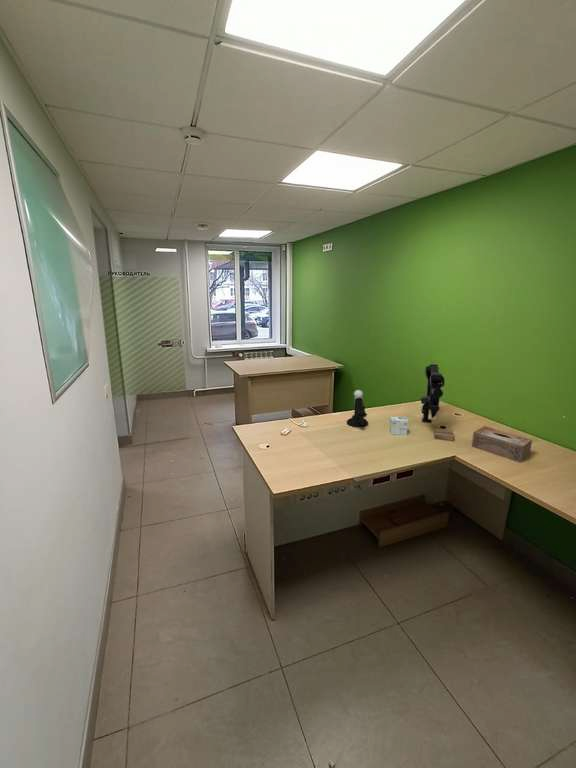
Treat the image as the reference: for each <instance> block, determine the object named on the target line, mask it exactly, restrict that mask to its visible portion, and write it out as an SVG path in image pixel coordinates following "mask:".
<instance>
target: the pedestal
mask: <svg viewBox="0 0 576 768" xmlns="http://www.w3.org/2000/svg"><path fill="white" fill-rule="evenodd" d="M433 429H434V431H433V436H434V437H433V438H434V439H433V440H441V441H447V442H454V439H455V436H454V430H453V429H452V430H451V429H445V428H433Z"/></svg>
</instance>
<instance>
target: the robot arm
mask: <svg viewBox="0 0 576 768" xmlns="http://www.w3.org/2000/svg"><path fill="white" fill-rule="evenodd" d="M439 368H440V367H438V364H437V363H436V364H434V363H431V364H429V365H428V366H425V368H424V374H425V377H426V379H427V381H426V382H427V384H426V395H425V396H422V397H420V403H421V404H423V405H421V414H423V415H422V418H421V422H422V423H433V421H432V419H428V416H429V409H430V410H431V415H432V418H434V416H435V415H436V413H437V414H438V412H437V411H440V398H442V397H443V395H444V391H443V390H442V387H445V384H446V383H445V382H446V381H445V377H444V376H443V373H441V372H439V371H440V370H439Z"/></svg>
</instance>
